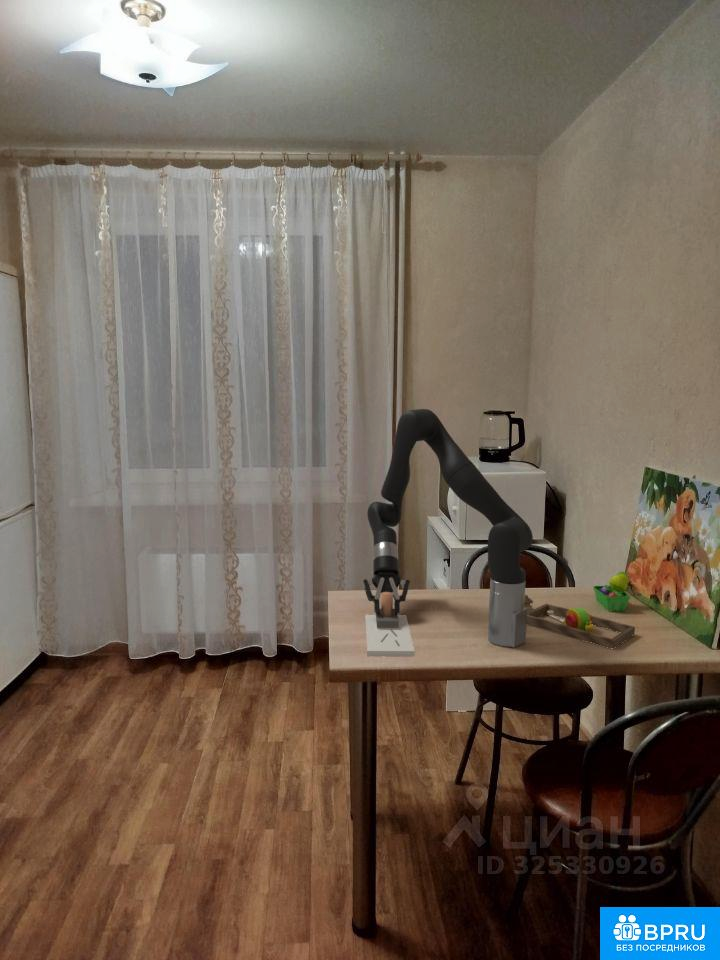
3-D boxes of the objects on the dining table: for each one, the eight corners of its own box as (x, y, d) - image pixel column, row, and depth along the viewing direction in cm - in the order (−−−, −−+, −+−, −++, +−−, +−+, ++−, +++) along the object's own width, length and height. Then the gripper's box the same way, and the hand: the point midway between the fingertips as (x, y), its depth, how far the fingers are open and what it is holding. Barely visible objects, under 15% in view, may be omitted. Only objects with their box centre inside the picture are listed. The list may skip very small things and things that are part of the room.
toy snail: (582, 639, 179) (583, 616, 178) (539, 615, 197) (541, 594, 196) (601, 636, 181) (602, 614, 180) (557, 613, 199) (558, 592, 198)
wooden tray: (634, 635, 182) (635, 626, 181) (613, 649, 172) (613, 640, 171) (546, 611, 200) (546, 603, 200) (522, 622, 190) (522, 614, 190)
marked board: (365, 619, 192) (365, 614, 192) (405, 619, 192) (406, 614, 192) (367, 656, 166) (367, 650, 166) (414, 656, 166) (414, 651, 166)
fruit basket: (591, 600, 210) (593, 567, 209) (617, 600, 211) (620, 566, 209) (606, 613, 199) (608, 577, 198) (634, 612, 200) (637, 577, 198)
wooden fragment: (537, 617, 195) (538, 614, 195) (500, 615, 197) (500, 612, 197) (527, 591, 221) (528, 588, 221) (494, 589, 222) (495, 586, 222)
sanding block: (375, 616, 191) (376, 588, 189) (396, 616, 191) (396, 588, 189) (376, 628, 181) (377, 599, 179) (398, 628, 181) (399, 599, 180)
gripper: (361, 554, 190) (362, 608, 180) (410, 554, 190) (413, 608, 180) (361, 566, 196) (361, 619, 186) (408, 566, 197) (411, 619, 186)
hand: (387, 613), depth 183 cm, fingers open, 4 cm apart
